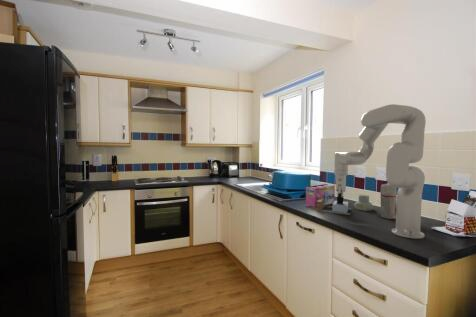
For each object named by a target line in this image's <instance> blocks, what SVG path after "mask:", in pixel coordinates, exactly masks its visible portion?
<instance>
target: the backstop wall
mask: <svg viewBox="0 0 476 317" xmlns="http://www.w3.org/2000/svg"><path fill="white" fill-rule="evenodd" d="M324 204H325V198H322V197H321V198H320V199H319V200H318V201H317V205H316V207H315V208H316V212H319V213H320V212H321V210H324V208H325V207H324V206H325V205H324Z"/></svg>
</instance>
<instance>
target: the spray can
mask: <svg viewBox="0 0 476 317" xmlns="http://www.w3.org/2000/svg"><path fill="white" fill-rule="evenodd" d="M397 192H398V190H397V188H395V187H392V186H391V185H389V183H388V182H387V183H385V184H381V186H380V217H381V218H383V219H387V220H389V219H390V220H396V205H397Z"/></svg>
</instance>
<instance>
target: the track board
mask: <svg viewBox="0 0 476 317" xmlns="http://www.w3.org/2000/svg"><path fill="white" fill-rule="evenodd" d="M324 208H327V209H328V208H330V209H331V208H332V205H324ZM352 210H353V208H351V207H350V208H349V207H348V211H352ZM321 212H322V213H329V214H330V213H332V214H339V215H349V216H350V215H351V212H347V213H344V212H335V211H332V210H325V209H322V210H321Z"/></svg>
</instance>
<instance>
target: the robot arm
mask: <svg viewBox="0 0 476 317" xmlns="http://www.w3.org/2000/svg"><path fill="white" fill-rule="evenodd" d="M426 120H427V118H426V116H425V113H424V112H423V111H422V110H421V109H419V108H417V107H414V106H411V105H410V106H409V105H406V104H405V105H402V104H392V103H391V104H386V105H383V106H381V107H377V108H373V109H371V110H368V111H366V112H365V113H363V114H362V116H361V119H360V124H361V126H363V128H362V130H361V131H360V132H359V134H358V138H359V139H360V140H361V141H362V142H363V144H362V146H361V147H360V149H358V151H336V152H335V153H334V169H333V170H334V172H333V175H334V176H336V177H335V192H337V194H336V195H337V197H336V201H337V203H339V204H343V201H344V193H346V191H347V176H348V175H349V166H354V165H355V166H360V165H363V164H364V163H366V162H367V161H368V159H370V157H371V156H372V154H373V151H374V149H375V148H374V147H375V142H376V141H377V140H378V138H379V136H381V134H382V133H383V131H384V130H385V129H386V128H387V126H388V125H389V124H398V125H399V124H401V125H404V126H403V129H402V131H401V139H400V141H397V142H394V143H393V144H392V145H390V146H389V148H388V151H387V153H386V165H385V166H386V168H385V179H386V182H387V183H389V185H391V186H392V187H395V188H396V189H398V190H397V191H396V196H397V198H396V219H395V227H393V228H391V233H393V235H395V236H399V237H402V238H407V239H414V240H415V239H416V240H417V239H418V240H419V239H424V238H425V233H424V232H422V231H421V225H422V224H421V223H422V222H421V221H422V220H421V219H422V201H423V200H422V199H423V189H424V186H425V181H426V177H425V176H426V174H425V172H424V171H423V170H422V169H421V168H419V167H417V166H414V165H410V164H415V163H418V162H420V161H421V160H422V159H423V155H424V145H425V142H424V141H425V130H426V123H427V121H426ZM341 191H342V192H341ZM342 195H343V197H342Z"/></svg>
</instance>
